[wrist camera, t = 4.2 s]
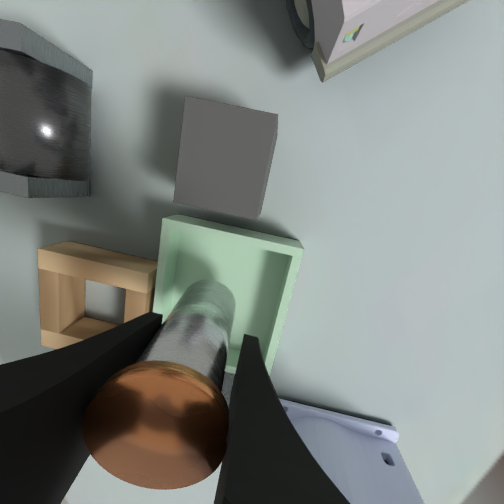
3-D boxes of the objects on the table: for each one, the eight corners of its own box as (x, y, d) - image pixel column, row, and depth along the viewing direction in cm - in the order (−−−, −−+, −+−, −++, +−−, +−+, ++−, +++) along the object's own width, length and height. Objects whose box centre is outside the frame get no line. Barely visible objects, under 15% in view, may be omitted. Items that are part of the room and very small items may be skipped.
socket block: (164, 263, 16) (148, 273, 14) (155, 348, 18) (139, 369, 16) (68, 240, 16) (37, 248, 14) (68, 327, 18) (41, 345, 16)
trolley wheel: (108, 73, 14) (43, 27, 10) (104, 199, 15) (47, 202, 12) (43, 60, 14) (-47, 10, 10) (46, 186, 16) (-29, 185, 12)
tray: (300, 240, 15) (304, 249, 13) (268, 358, 17) (268, 382, 15) (178, 214, 15) (162, 217, 13) (163, 333, 18) (148, 352, 15)
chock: (277, 136, 14) (277, 114, 10) (260, 212, 15) (255, 220, 11) (210, 122, 14) (185, 95, 10) (199, 199, 15) (172, 202, 11)
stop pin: (249, 281, 14) (240, 397, 6) (234, 339, 15) (212, 500, 7) (179, 266, 13) (84, 366, 6) (170, 326, 14) (79, 475, 7)
